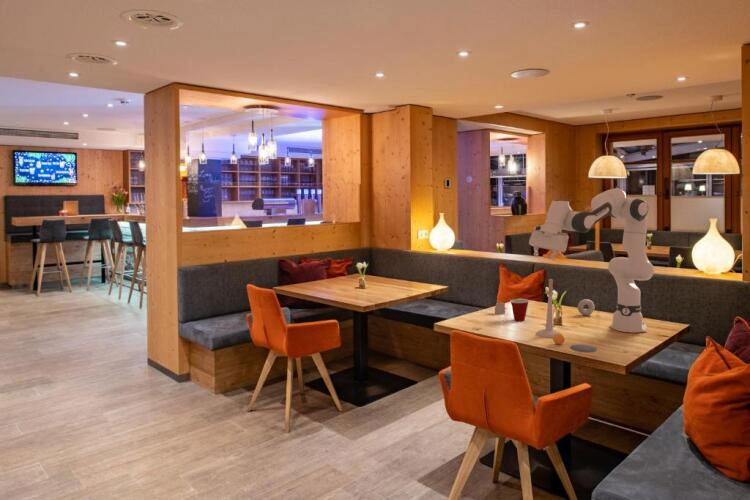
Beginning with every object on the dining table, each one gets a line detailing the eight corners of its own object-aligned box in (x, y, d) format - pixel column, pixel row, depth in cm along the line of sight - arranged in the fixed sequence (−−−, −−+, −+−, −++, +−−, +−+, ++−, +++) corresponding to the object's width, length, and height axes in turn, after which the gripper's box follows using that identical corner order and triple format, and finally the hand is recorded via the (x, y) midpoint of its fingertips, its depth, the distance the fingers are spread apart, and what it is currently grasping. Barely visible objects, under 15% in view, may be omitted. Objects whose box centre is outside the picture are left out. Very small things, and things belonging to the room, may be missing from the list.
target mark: (574, 343, 277) (574, 343, 277) (599, 347, 270) (599, 347, 270) (566, 349, 267) (566, 348, 267) (592, 353, 260) (592, 353, 260)
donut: (578, 316, 335) (578, 299, 334) (576, 314, 338) (577, 298, 337) (595, 316, 334) (595, 299, 333) (593, 314, 338) (593, 298, 337)
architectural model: (494, 313, 344) (494, 301, 343) (505, 313, 344) (505, 301, 343) (495, 314, 341) (495, 303, 340) (506, 314, 341) (506, 302, 340)
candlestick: (531, 332, 297) (533, 277, 294) (551, 330, 302) (553, 275, 298) (546, 339, 285) (548, 281, 282) (567, 336, 290) (569, 279, 286)
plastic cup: (513, 317, 332) (514, 297, 331) (531, 319, 326) (531, 299, 325) (506, 320, 324) (507, 300, 322) (524, 323, 317) (525, 302, 316)
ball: (554, 342, 279) (555, 331, 279) (565, 344, 276) (566, 333, 275) (551, 344, 275) (551, 333, 274) (562, 346, 272) (562, 335, 271)
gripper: (573, 235, 268) (564, 263, 268) (539, 229, 284) (530, 255, 284) (566, 232, 264) (557, 259, 264) (531, 226, 281) (523, 252, 280)
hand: (543, 257), depth 274 cm, fingers open, 8 cm apart
